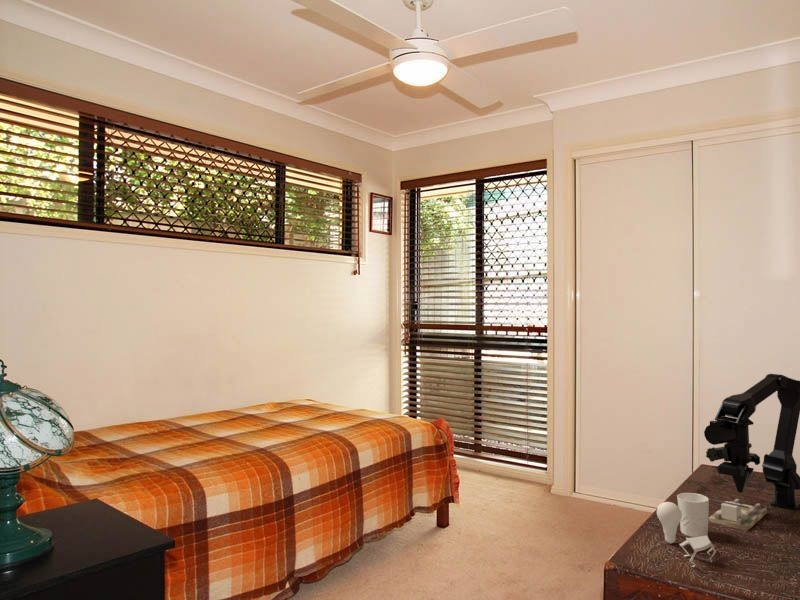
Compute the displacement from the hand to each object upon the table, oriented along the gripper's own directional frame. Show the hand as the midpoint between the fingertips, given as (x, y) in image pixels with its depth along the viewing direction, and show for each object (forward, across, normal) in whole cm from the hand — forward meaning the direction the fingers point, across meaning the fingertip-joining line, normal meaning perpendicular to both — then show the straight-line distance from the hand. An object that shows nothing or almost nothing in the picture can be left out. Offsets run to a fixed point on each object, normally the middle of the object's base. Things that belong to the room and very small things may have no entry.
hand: (740, 492), depth 171 cm
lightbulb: (+7, +34, -7) cm, 35 cm away
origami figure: (+7, +40, +2) cm, 40 cm away
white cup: (+7, +23, -5) cm, 24 cm away
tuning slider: (+5, +8, 0) cm, 10 cm away
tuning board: (+7, +3, 0) cm, 7 cm away
